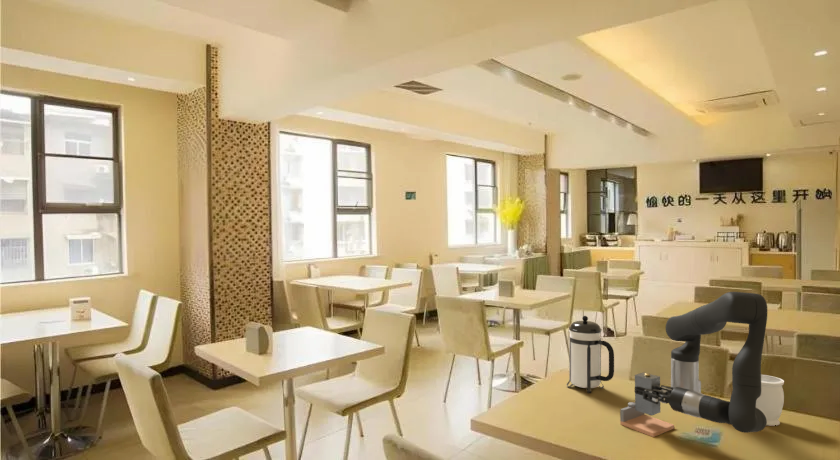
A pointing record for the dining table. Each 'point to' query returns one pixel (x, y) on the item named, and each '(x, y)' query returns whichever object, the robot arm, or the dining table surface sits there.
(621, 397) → the dining table surface
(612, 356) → the coffee press
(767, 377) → the jar
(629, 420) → the dock
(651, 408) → the block
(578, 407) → the dining table surface
